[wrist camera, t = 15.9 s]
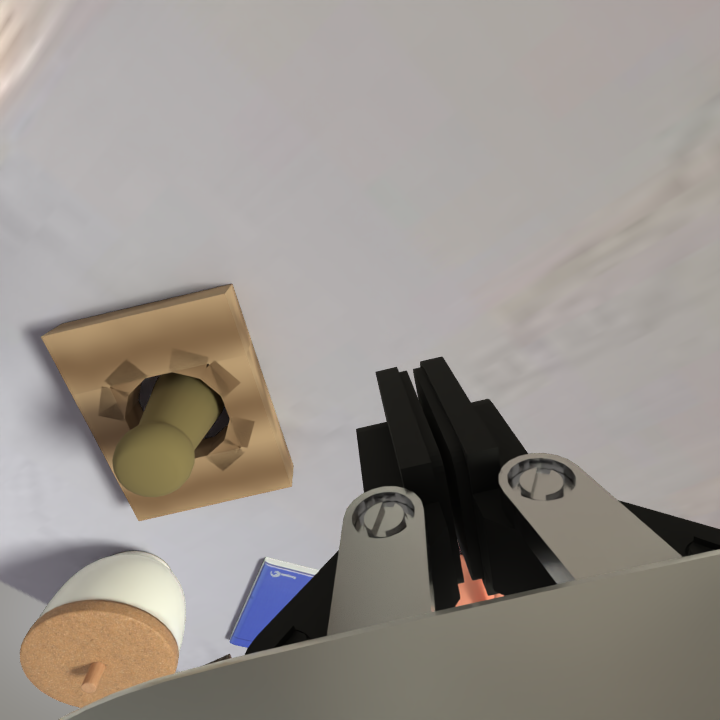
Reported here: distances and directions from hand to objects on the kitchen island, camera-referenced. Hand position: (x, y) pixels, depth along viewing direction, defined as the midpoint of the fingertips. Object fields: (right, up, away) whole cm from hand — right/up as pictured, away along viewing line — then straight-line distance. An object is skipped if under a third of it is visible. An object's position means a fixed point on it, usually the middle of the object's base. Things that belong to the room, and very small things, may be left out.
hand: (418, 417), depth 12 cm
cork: (-16, -2, +29) cm, 33 cm away
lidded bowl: (-24, -21, +37) cm, 49 cm away
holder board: (-16, -2, +29) cm, 34 cm away
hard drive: (-10, -25, +40) cm, 49 cm away
